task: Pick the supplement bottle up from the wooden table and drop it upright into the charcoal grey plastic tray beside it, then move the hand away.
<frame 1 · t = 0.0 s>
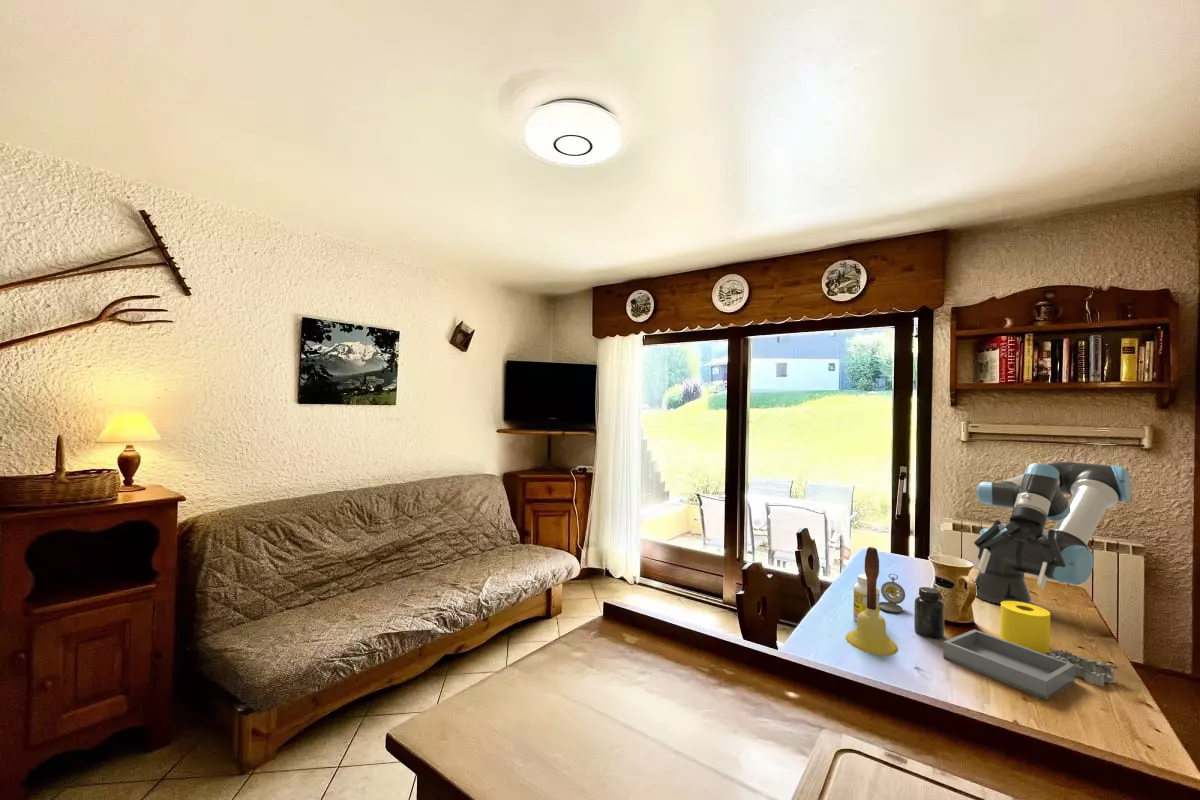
hand: (1009, 578, 137), 15 cm above the table, tool tilted 35°, fingers open, 13 cm apart
tray: (1006, 669, 117), on the table
supplement bottle 2: (866, 621, 143), on the table
egg carton: (1080, 674, 117), on the table
pocket watch: (891, 609, 153), on the table
handbell: (871, 644, 130), on the table
supplement bottle: (929, 634, 136), on the table
yellow toilet roll: (1024, 644, 131), on the table
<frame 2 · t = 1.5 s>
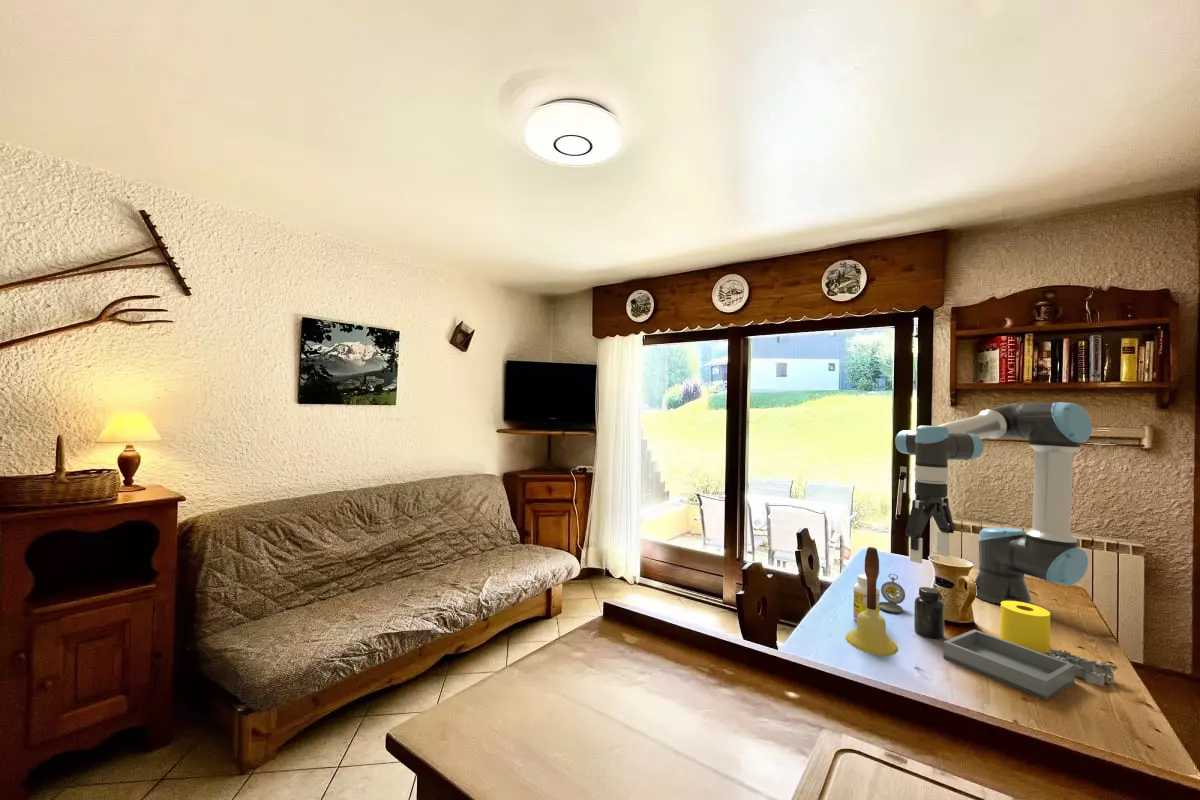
hand: (929, 558, 136), 21 cm above the table, tool pointing down, fingers open, 13 cm apart
nothing on the table moved.
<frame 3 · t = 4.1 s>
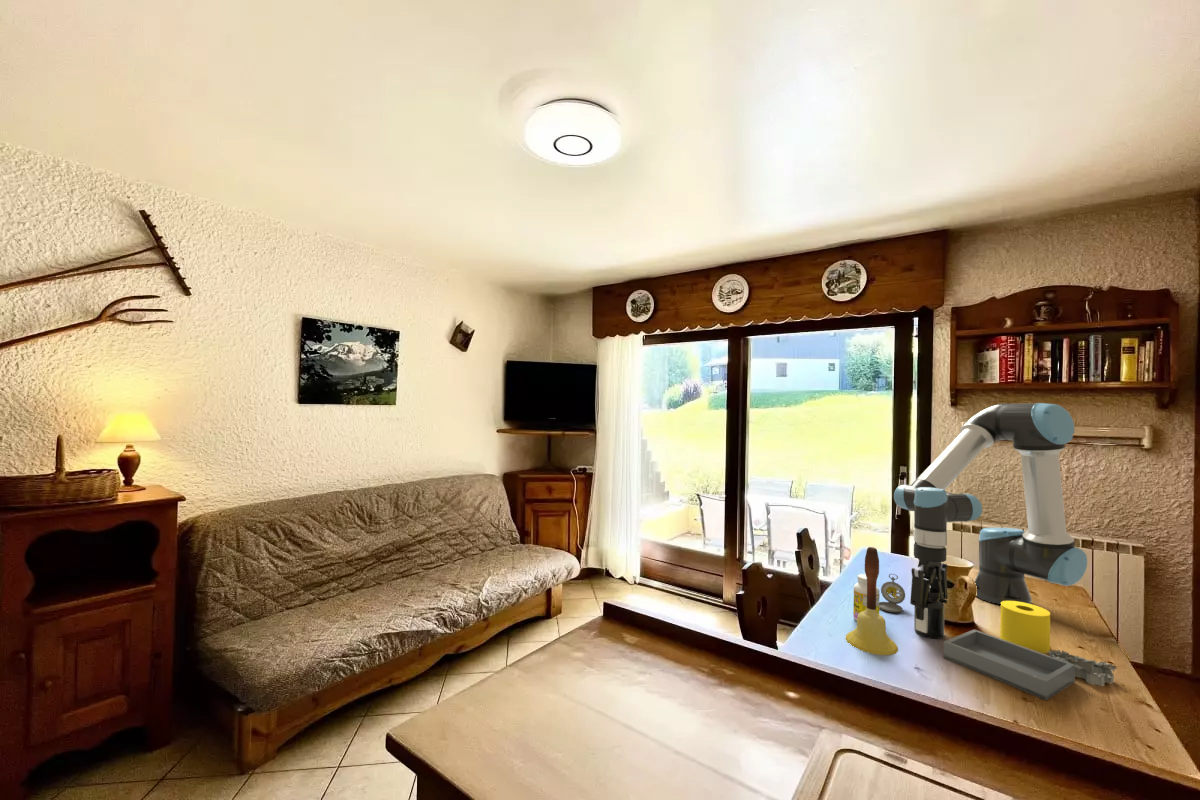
hand: (929, 627, 136), 2 cm above the table, tool pointing down, fingers closed on supplement bottle, 7 cm apart
supplement bottle: (929, 634, 136), on the table, touching gripper
everything else where it was.
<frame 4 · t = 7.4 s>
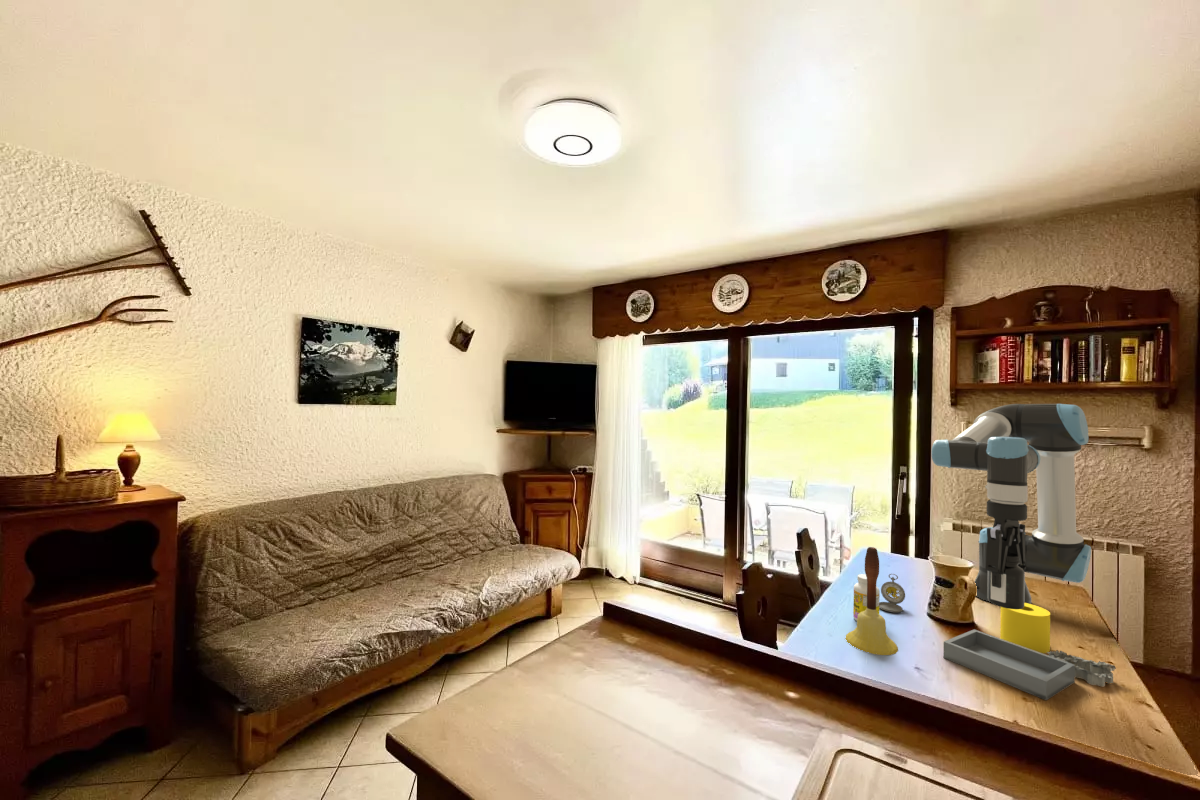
hand: (1005, 597, 118), 17 cm above the table, tool pointing down, fingers closed on supplement bottle, 7 cm apart
supplement bottle: (1005, 604, 118), point 15 cm above the table, touching gripper
everything else where it was.
when the fingers open (4 cm above the table, at t = 10.6 s): supplement bottle drops 1 cm, resting on tray.
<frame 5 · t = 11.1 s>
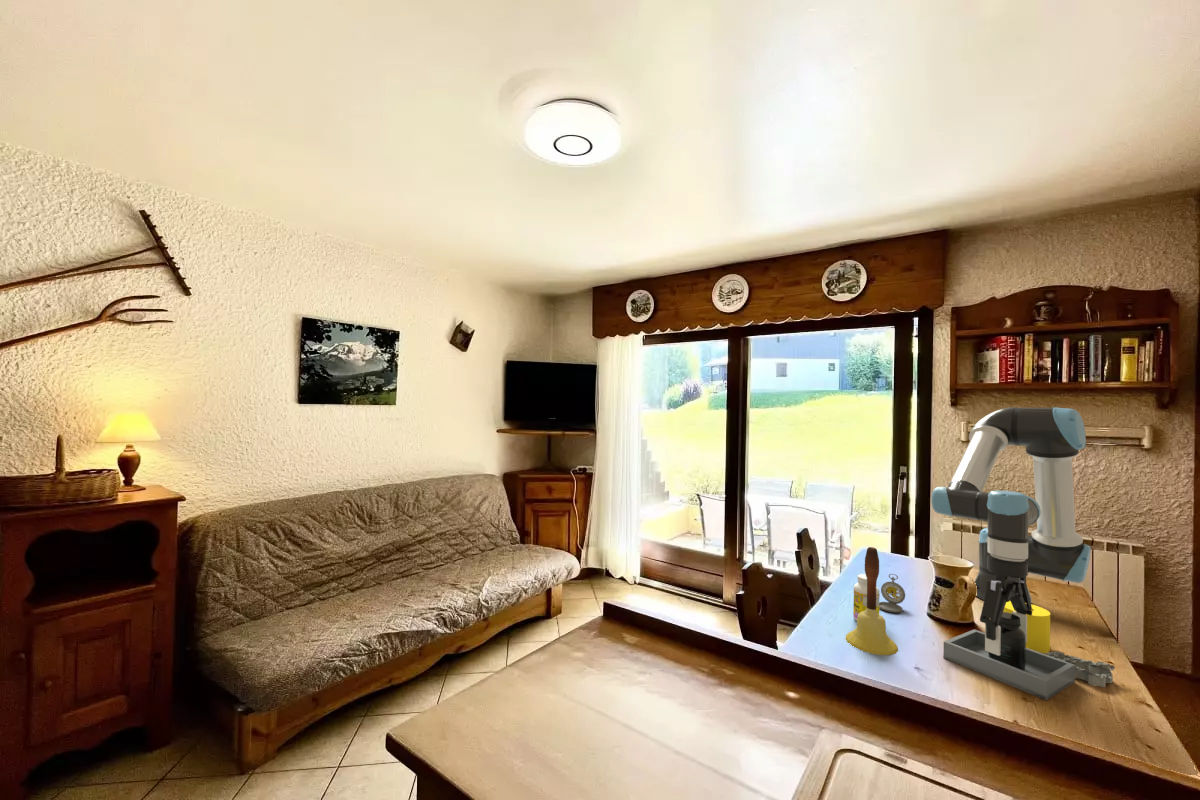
hand: (1006, 646, 118), 5 cm above the table, tool pointing down, fingers open, 13 cm apart
supplement bottle: (1006, 666, 118), point 1 cm above the table, touching tray
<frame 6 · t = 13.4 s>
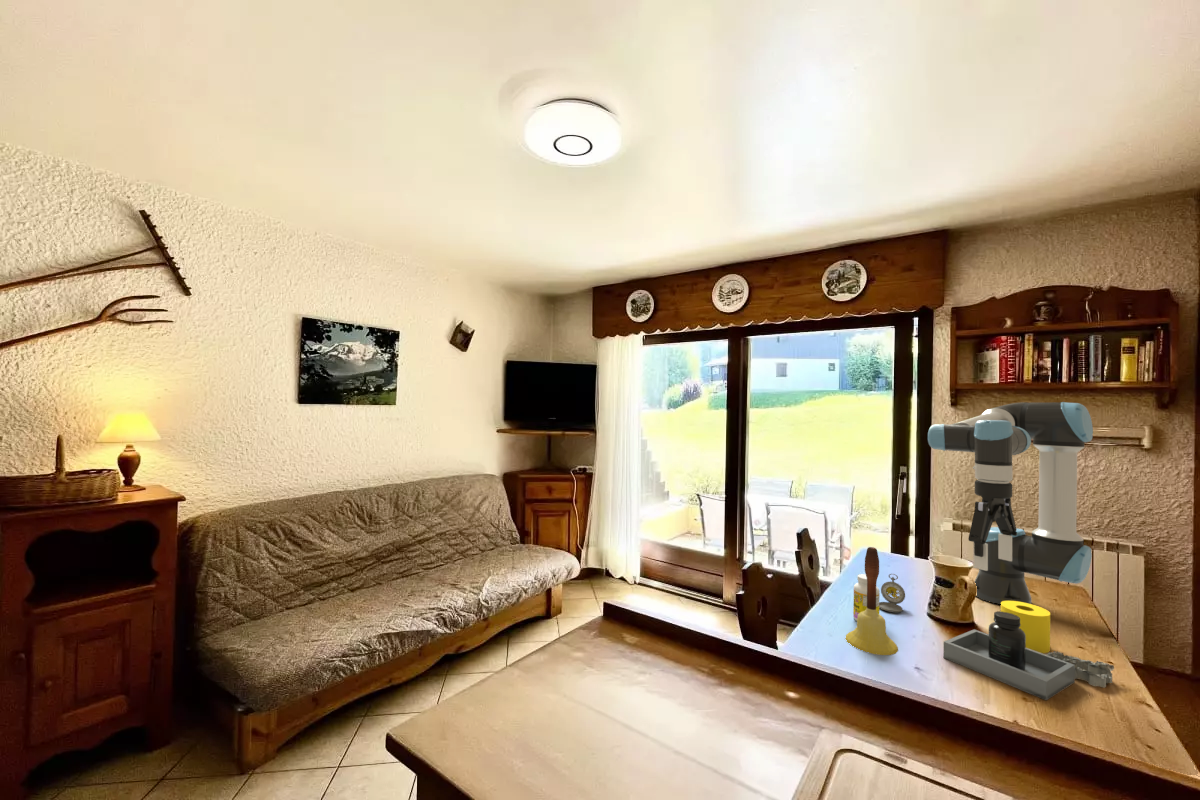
hand: (993, 564, 125), 23 cm above the table, tool pointing down, fingers open, 13 cm apart
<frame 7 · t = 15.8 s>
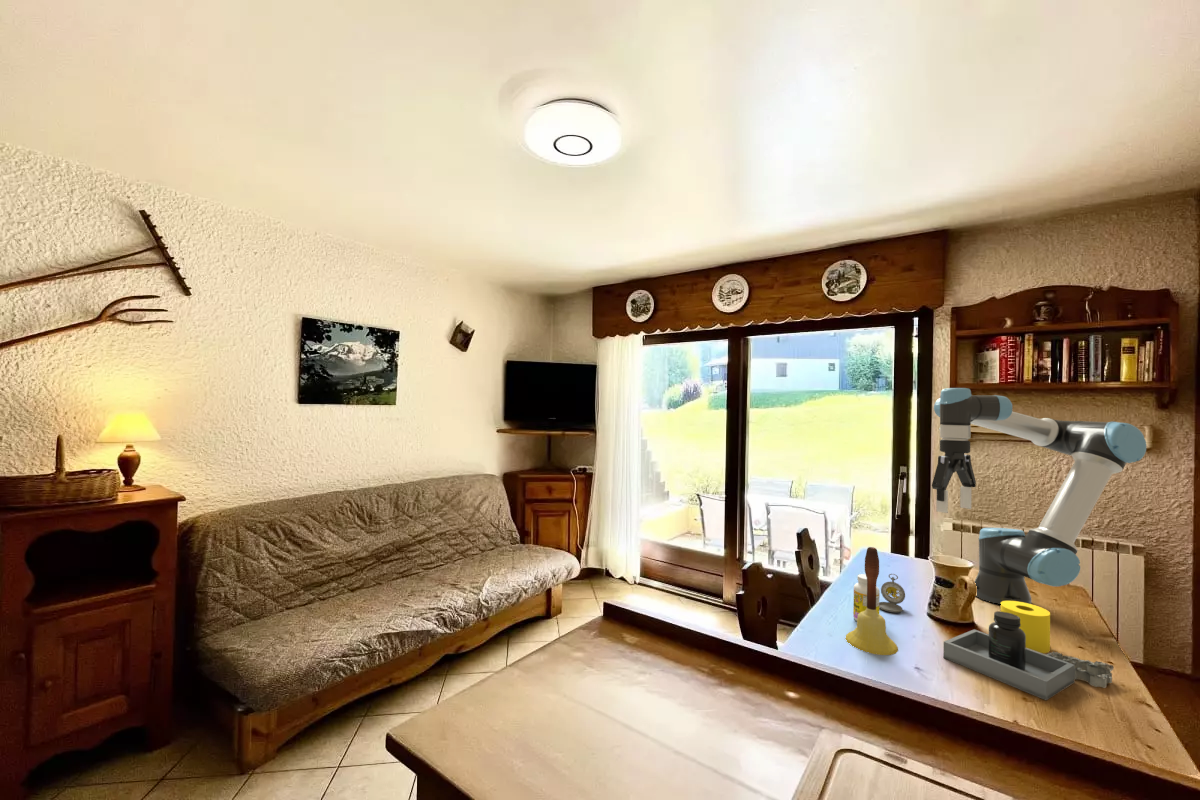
hand: (954, 510, 148), 32 cm above the table, tool pointing down, fingers open, 13 cm apart
at the end: supplement bottle inside the target area on the tray (0.2 cm from its centre), point 0.6 cm above the tray's base; supplement bottle tilted 0°; the gripper is holding nothing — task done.
